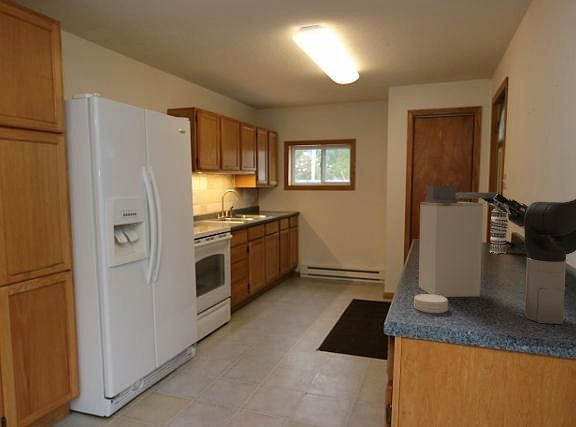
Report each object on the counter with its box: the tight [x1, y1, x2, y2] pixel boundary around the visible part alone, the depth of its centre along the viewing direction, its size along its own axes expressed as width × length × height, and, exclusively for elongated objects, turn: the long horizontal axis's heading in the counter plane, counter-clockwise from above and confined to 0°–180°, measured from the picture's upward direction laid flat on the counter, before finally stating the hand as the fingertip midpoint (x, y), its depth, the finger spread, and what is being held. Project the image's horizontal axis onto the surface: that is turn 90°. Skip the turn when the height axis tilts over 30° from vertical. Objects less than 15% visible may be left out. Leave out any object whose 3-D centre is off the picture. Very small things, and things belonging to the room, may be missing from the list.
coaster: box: [413, 293, 449, 314], centre depth 122 cm, size 10×10×4 cm
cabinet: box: [418, 198, 484, 298], centre depth 141 cm, size 16×14×33 cm
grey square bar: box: [425, 185, 500, 203], centre depth 140 cm, size 24×6×6 cm, turn 93°
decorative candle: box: [489, 208, 509, 254], centre depth 225 cm, size 9×9×25 cm
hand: (489, 195), depth 140 cm, fingers open, 8 cm apart
